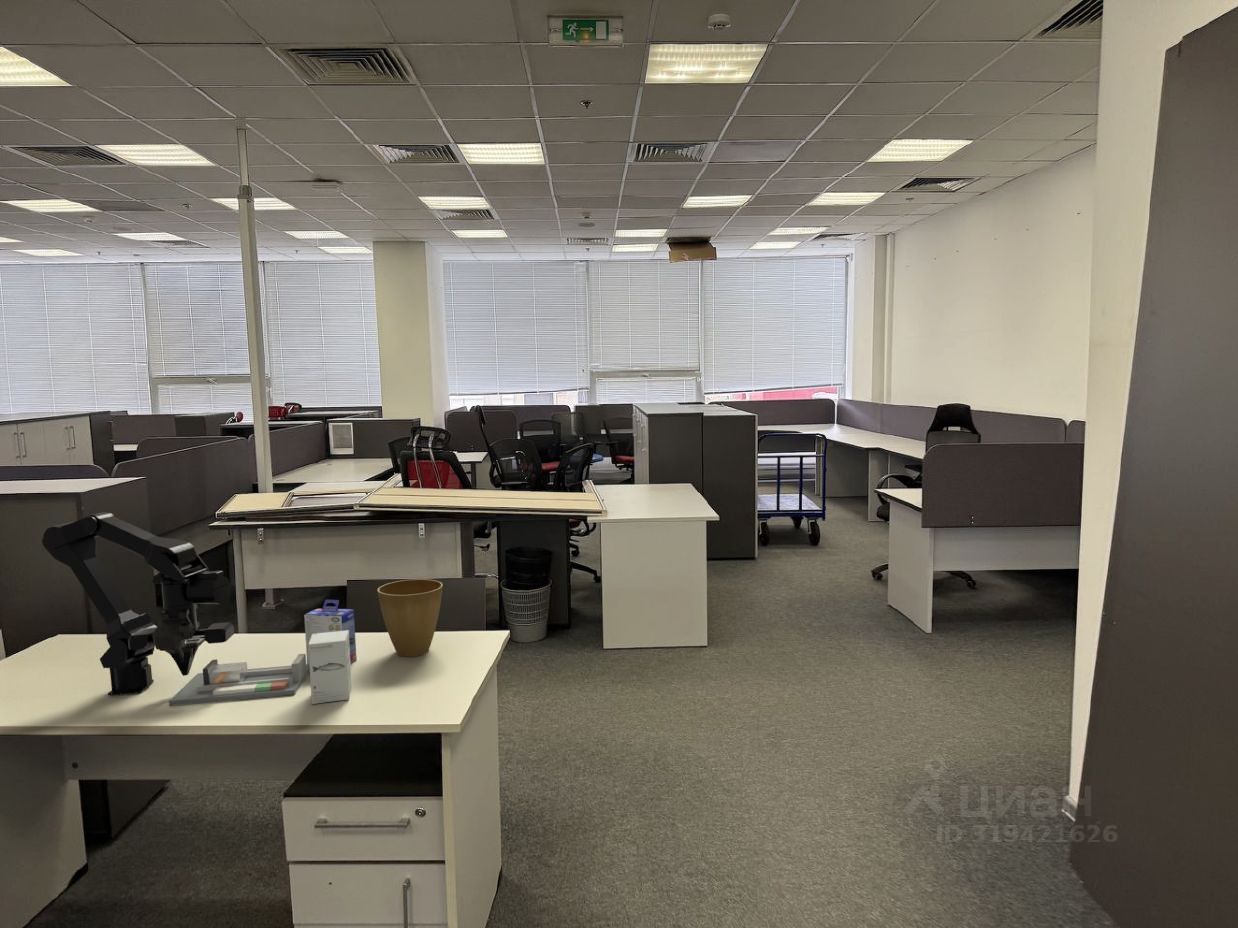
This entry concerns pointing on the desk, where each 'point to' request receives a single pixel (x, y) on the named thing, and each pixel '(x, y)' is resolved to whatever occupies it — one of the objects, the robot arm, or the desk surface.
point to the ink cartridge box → (331, 624)
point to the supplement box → (330, 666)
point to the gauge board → (247, 685)
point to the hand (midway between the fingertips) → (185, 674)
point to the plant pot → (411, 614)
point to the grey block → (224, 672)
